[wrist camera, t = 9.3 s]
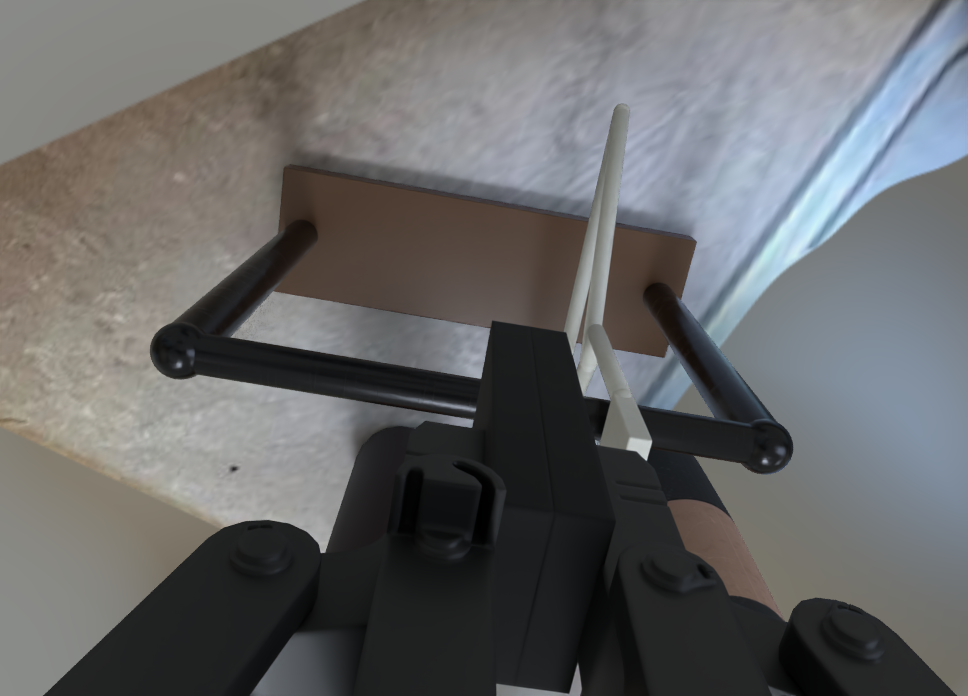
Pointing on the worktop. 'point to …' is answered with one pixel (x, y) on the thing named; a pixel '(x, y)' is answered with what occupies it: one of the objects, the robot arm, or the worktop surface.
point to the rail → (464, 305)
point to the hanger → (594, 265)
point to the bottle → (369, 491)
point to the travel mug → (711, 529)
